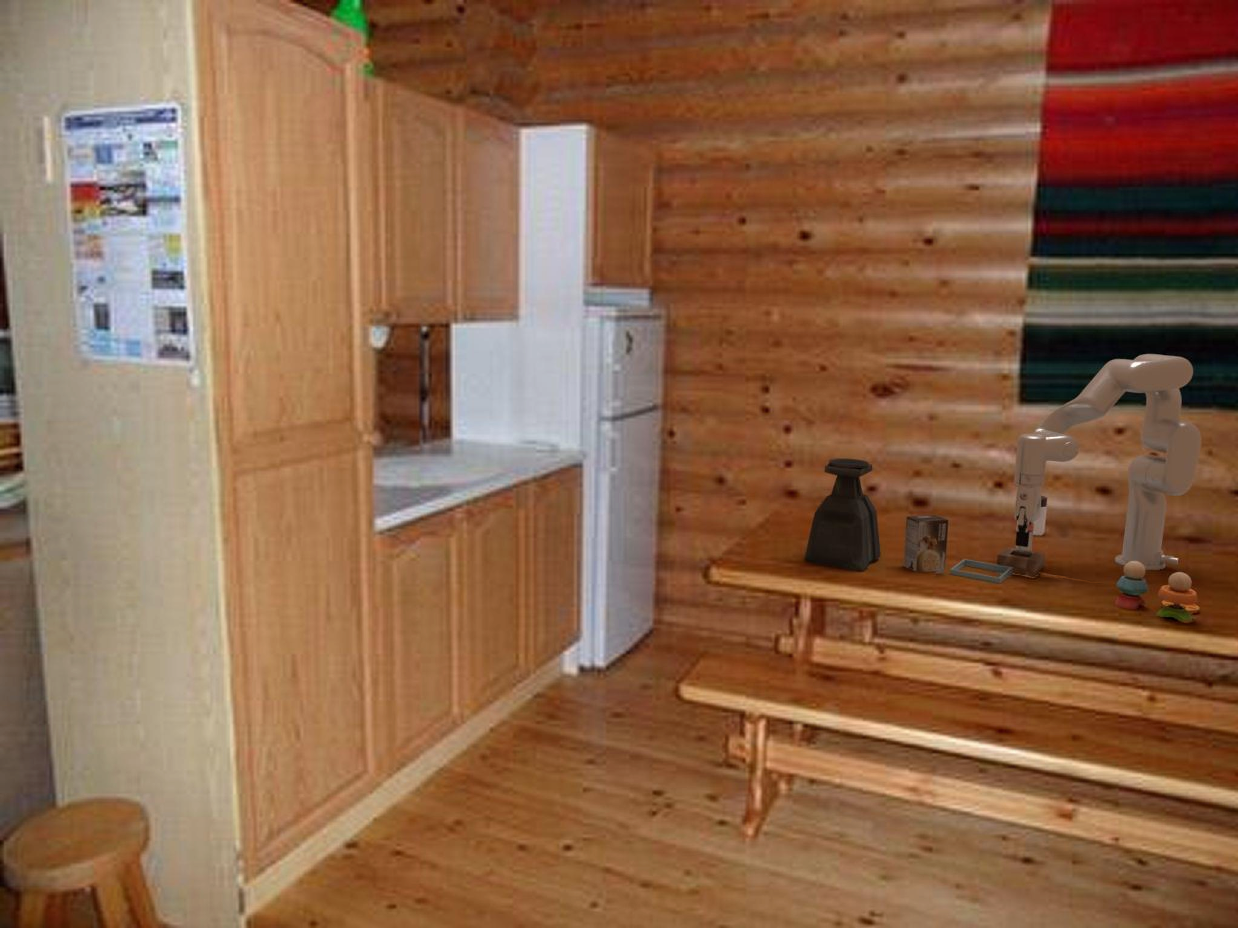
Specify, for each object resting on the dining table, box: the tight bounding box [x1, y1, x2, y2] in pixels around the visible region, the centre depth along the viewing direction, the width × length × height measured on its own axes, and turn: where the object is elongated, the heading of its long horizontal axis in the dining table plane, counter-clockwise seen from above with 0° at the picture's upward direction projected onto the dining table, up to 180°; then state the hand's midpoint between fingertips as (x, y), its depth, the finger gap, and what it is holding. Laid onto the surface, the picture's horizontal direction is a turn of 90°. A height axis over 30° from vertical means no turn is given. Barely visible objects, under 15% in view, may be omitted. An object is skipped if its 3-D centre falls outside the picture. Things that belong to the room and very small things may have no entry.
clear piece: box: [1015, 522, 1034, 557], centre depth 261 cm, size 4×4×12 cm
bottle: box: [803, 457, 882, 572], centre depth 259 cm, size 18×16×30 cm
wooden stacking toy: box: [1114, 561, 1200, 621], centre depth 228 cm, size 18×17×12 cm
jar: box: [1016, 495, 1048, 536], centre depth 305 cm, size 9×8×12 cm
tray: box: [949, 558, 1013, 584], centre depth 255 cm, size 13×13×2 cm
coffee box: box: [903, 514, 949, 575], centre depth 255 cm, size 9×6×16 cm
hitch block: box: [996, 546, 1045, 578], centre depth 262 cm, size 10×10×5 cm
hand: (1023, 543), depth 261 cm, fingers closed on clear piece, 4 cm apart
